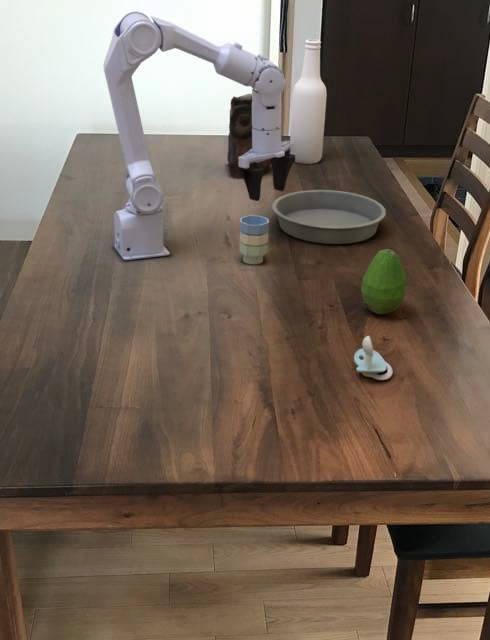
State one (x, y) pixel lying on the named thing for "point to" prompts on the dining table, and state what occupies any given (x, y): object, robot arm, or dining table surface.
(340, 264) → the dining table surface
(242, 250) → the celadon bowl
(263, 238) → the ivory bowl
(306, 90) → the alcohol
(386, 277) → the avocado
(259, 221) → the blue bowl
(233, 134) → the owl
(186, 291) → the dining table surface
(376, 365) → the pacifier
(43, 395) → the dining table surface
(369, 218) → the cake pan
